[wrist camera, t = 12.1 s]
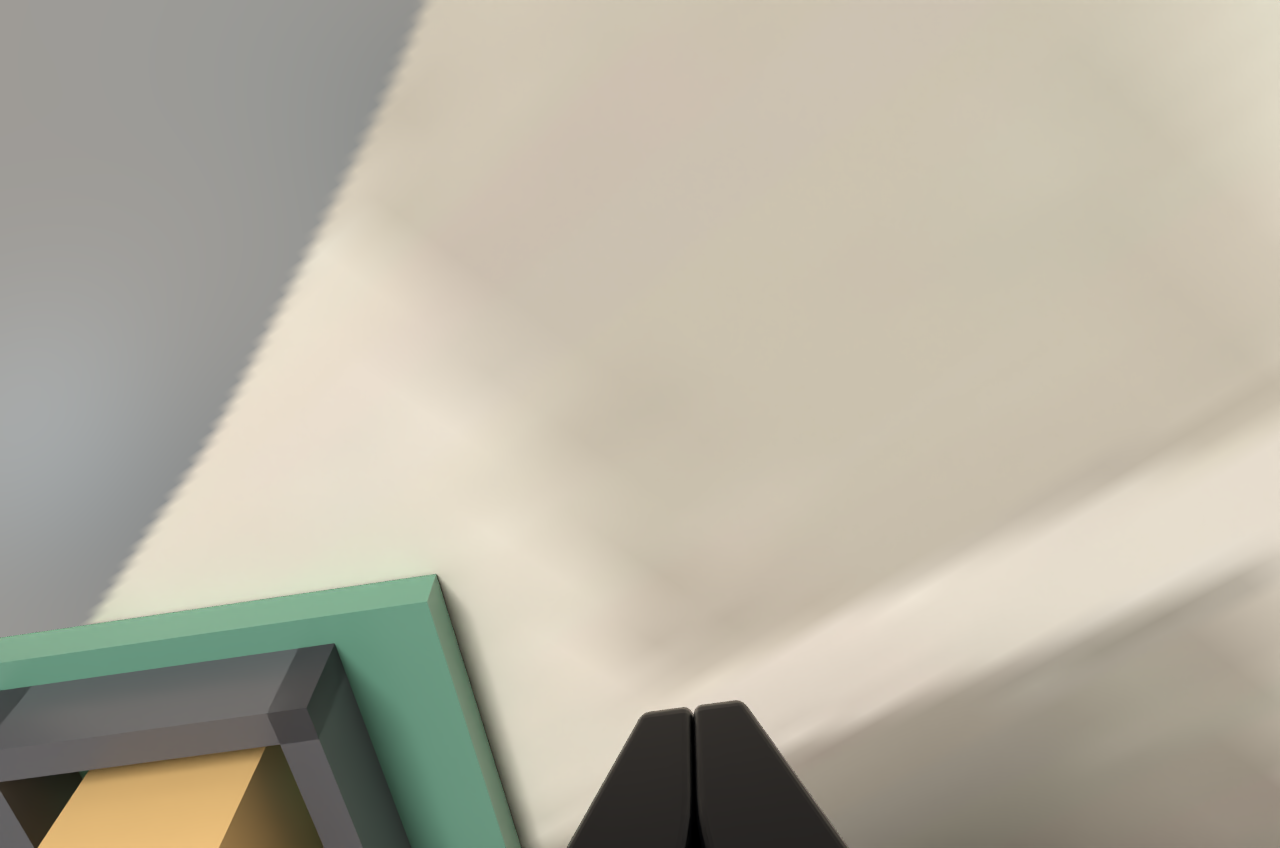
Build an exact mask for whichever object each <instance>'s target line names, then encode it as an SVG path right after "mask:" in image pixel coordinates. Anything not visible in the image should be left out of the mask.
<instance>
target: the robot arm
mask: <svg viewBox="0 0 1280 848" xmlns="http://www.w3.org/2000/svg"><path fill="white" fill-rule="evenodd" d="M567 848H849V847H848V846H847V844H846V843H845V842H844V840H843V839H842V837H841V836H840V835H839V833H838V832H837V831H836V829H835V828H834V826H833V825H832V824H831V822H830V821H829V819H828V818H827V817H826V815H825V814H824V812H823V811H822V810H821V808H820V807H819V805H818V804H817V803H816V801H815V800H814V798H813V797H812V796H811V794H810V793H809V792H808V790H807V789H806V787H805V786H804V785H803V783H802V782H801V780H800V779H799V778H798V776H797V775H796V773H795V772H794V771H793V769H792V768H791V766H790V765H789V764H788V762H787V761H786V760H785V758H784V757H783V755H782V754H781V753H780V751H779V750H778V748H777V747H776V746H775V744H774V743H773V741H772V740H771V739H770V737H769V736H768V734H767V733H766V732H765V730H764V729H763V727H762V726H761V725H760V723H759V722H758V721H757V719H756V718H755V716H754V715H753V714H752V712H751V711H750V709H749V708H748V707H747V706H746V705H745V704H744V703H743V702H741V701H737V700H735V701H727V702H720V703H712V704H704V705H700V706H698V707H697V708H696V709H695V711H694V715H693V713H692V712H691V710H690V709H688V708H685V707H682V708H674V709H667V710H659V711H651V712H647V713H645V714H643V715H642V716H641V717H640V719H639V720H638V722H637V724H636V725H635V727H634V729H633V731H632V733H631V734H630V736H629V738H628V740H627V741H626V743H625V745H624V747H623V749H622V750H621V752H620V754H619V756H618V757H617V759H616V761H615V763H614V765H613V766H612V768H611V770H610V772H609V773H608V775H607V777H606V779H605V781H604V782H603V784H602V786H601V788H600V789H599V791H598V793H597V795H596V797H595V798H594V800H593V802H592V804H591V805H590V807H589V809H588V811H587V813H586V814H585V816H584V818H583V820H582V821H581V823H580V825H579V827H578V829H577V830H576V832H575V834H574V836H573V837H572V839H571V841H570V843H569V845H568V846H567Z"/></svg>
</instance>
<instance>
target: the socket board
mask: <svg viewBox="0 0 1280 848" xmlns="http://www.w3.org/2000/svg"><path fill="white" fill-rule="evenodd" d="M273 745H280V746H281V748H282V750H283V753H284V755H285V757H286V760H287V762H288V764H289V767H290V769H291V771H292V774H293V776H294V778H295V781H296V783H297V785H298V788H299V790H300V793H301V795H302V797H303V800H304V802H305V804H306V807H307V809H308V811H309V814H310V816H311V818H312V821H313V823H314V825H315V828H316V830H317V832H318V835H319V837H320V839H321V842H322V844H323V846H324V848H521V845H520V842H519V839H518V836H517V832H516V829H515V826H514V823H513V820H512V816H511V813H510V810H509V807H508V804H507V800H506V797H505V794H504V791H503V787H502V784H501V781H500V778H499V775H498V771H497V768H496V765H495V762H494V759H493V755H492V752H491V749H490V746H489V743H488V739H487V736H486V733H485V730H484V727H483V723H482V720H481V717H480V714H479V710H478V707H477V704H476V701H475V698H474V694H473V691H472V688H471V685H470V682H469V678H468V675H467V672H466V669H465V666H464V662H463V659H462V656H461V653H460V649H459V646H458V643H457V640H456V637H455V633H454V630H453V627H452V624H451V621H450V617H449V614H448V611H447V608H446V605H445V601H444V598H443V595H442V592H441V588H440V585H439V582H438V579H437V576H436V574H433V575H426V576H420V577H413V578H406V579H399V580H392V581H385V582H378V583H372V584H365V585H358V586H351V587H344V588H337V589H331V590H324V591H317V592H310V593H303V594H296V595H289V596H283V597H276V598H269V599H262V600H255V601H248V602H241V603H235V604H228V605H221V606H214V607H207V608H200V609H194V610H187V611H180V612H173V613H166V614H159V615H152V616H146V617H139V618H132V619H125V620H118V621H111V622H104V623H98V624H91V625H84V626H77V627H71V628H63V629H57V630H50V631H44V632H36V633H30V634H22V635H16V636H9V637H2V638H0V848H38V846H39V845H40V843H41V842H42V840H43V839H44V837H45V836H46V834H47V833H48V831H49V830H50V828H51V827H52V825H53V824H54V822H55V821H56V819H57V818H58V816H59V815H60V813H61V812H62V810H63V809H64V807H65V806H66V804H67V803H68V801H69V800H70V798H71V797H72V795H73V794H74V792H75V791H76V789H77V788H78V786H79V785H80V783H81V782H82V780H83V778H84V777H85V775H86V774H87V772H88V771H89V770H94V769H101V768H109V767H116V766H124V765H131V764H138V763H146V762H153V761H161V760H168V759H176V758H183V757H191V756H198V755H206V754H213V753H221V752H228V751H235V750H243V749H250V748H258V747H265V746H273Z"/></svg>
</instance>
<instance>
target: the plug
mask: <svg viewBox="0 0 1280 848" xmlns="http://www.w3.org/2000/svg"><path fill="white" fill-rule="evenodd" d="M38 848H324V846H323V844H322V842H321V839H320V837H319V835H318V832H317V830H316V828H315V825H314V823H313V821H312V818H311V816H310V814H309V811H308V809H307V807H306V804H305V802H304V800H303V797H302V795H301V793H300V790H299V788H298V785H297V783H296V781H295V778H294V776H293V774H292V771H291V769H290V767H289V764H288V762H287V760H286V757H285V755H284V753H283V750H282V748H281V746H280V745H273V746H265V747H258V748H250V749H243V750H235V751H228V752H221V753H213V754H206V755H198V756H191V757H183V758H176V759H168V760H161V761H153V762H146V763H138V764H131V765H124V766H116V767H109V768H101V769H94V770H89V771H88V772H87V774H86V775H85V777H84V778H83V780H82V782H81V783H80V785H79V786H78V788H77V789H76V791H75V792H74V794H73V795H72V797H71V798H70V800H69V801H68V803H67V804H66V806H65V807H64V809H63V810H62V812H61V813H60V815H59V816H58V818H57V819H56V821H55V822H54V824H53V825H52V827H51V828H50V830H49V831H48V833H47V834H46V836H45V837H44V839H43V840H42V842H41V843H40V845H39V846H38Z"/></svg>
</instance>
